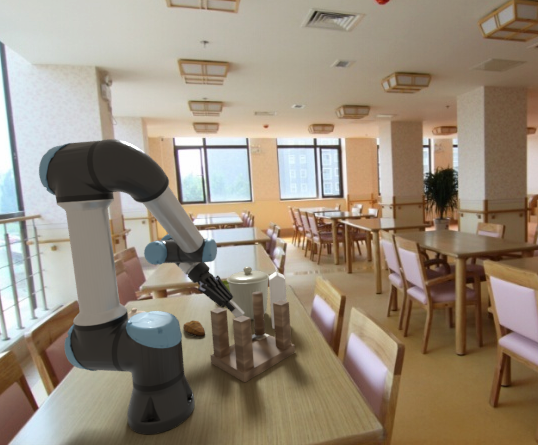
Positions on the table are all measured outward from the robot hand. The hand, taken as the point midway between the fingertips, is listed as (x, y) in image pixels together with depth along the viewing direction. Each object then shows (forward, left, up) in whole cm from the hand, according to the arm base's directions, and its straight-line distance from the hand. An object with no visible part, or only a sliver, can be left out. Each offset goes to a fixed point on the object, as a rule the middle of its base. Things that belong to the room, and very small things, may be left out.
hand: (241, 316), depth 109 cm
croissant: (-7, +22, -10) cm, 25 cm away
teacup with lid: (-22, +34, -10) cm, 41 cm away
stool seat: (-5, -11, -9) cm, 15 cm away
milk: (+18, 0, -10) cm, 20 cm away
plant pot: (+24, +43, -10) cm, 50 cm away
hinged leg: (-1, -6, -6) cm, 8 cm away
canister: (+18, +17, -10) cm, 26 cm away
